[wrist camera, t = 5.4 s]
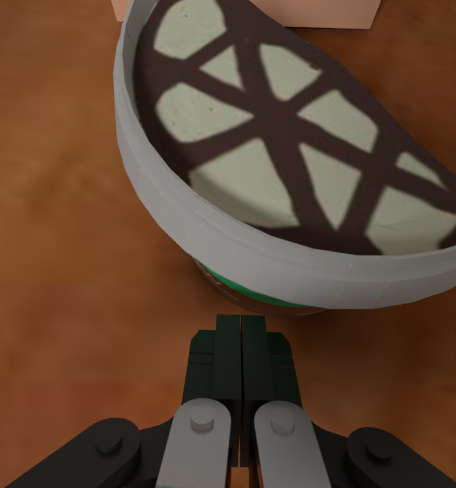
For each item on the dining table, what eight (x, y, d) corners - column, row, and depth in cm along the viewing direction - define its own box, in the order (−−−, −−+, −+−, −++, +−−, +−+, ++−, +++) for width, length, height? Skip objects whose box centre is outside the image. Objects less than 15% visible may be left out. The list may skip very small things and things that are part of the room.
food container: (104, 200, 20) (-5, 17, 10) (204, 130, 21) (191, -86, 12) (282, 415, 16) (361, 433, 7) (386, 314, 18) (567, 219, 8)
